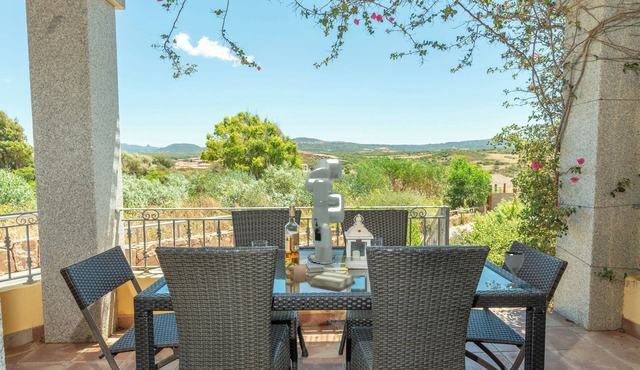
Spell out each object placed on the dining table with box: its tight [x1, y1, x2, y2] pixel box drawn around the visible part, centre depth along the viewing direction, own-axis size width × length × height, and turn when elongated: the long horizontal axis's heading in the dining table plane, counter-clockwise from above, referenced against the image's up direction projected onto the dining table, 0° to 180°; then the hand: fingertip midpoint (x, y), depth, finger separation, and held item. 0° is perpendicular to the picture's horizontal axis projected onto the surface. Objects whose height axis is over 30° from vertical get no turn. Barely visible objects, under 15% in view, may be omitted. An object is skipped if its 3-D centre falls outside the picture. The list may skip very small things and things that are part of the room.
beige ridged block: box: [310, 270, 356, 293], centre depth 194 cm, size 15×15×4 cm
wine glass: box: [504, 250, 525, 288], centre depth 191 cm, size 8×8×15 cm
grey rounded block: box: [312, 223, 331, 248], centre depth 213 cm, size 10×4×12 cm, turn 41°
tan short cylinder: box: [293, 264, 307, 283], centre depth 201 cm, size 6×6×7 cm
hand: (321, 239), depth 213 cm, fingers closed on grey rounded block, 5 cm apart
